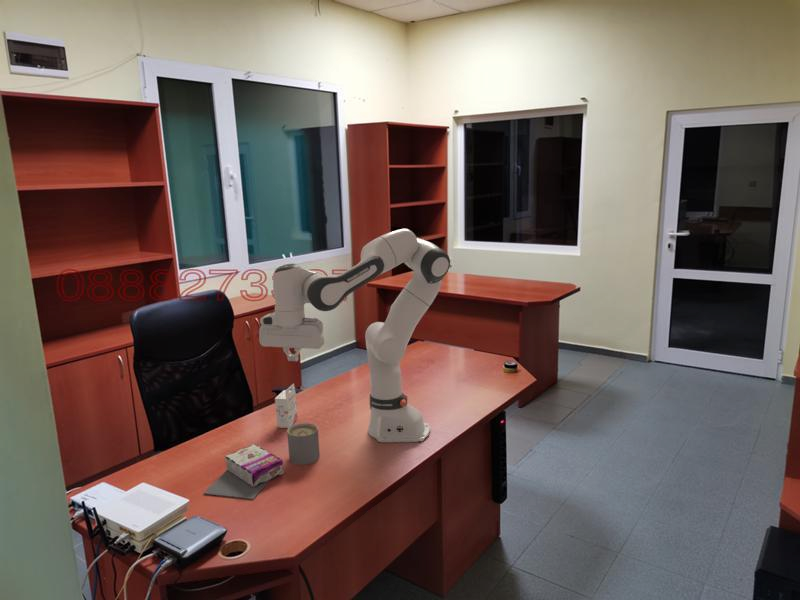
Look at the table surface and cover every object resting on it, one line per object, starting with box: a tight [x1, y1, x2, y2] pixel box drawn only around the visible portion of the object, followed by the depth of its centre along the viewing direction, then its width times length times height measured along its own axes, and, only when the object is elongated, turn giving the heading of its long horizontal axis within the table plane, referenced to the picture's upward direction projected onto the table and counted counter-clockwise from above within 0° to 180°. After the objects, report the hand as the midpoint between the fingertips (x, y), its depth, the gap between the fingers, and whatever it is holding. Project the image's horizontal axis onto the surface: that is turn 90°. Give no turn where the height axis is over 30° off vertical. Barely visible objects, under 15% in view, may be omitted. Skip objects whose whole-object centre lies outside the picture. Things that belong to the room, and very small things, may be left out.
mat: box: [203, 469, 271, 501], centre depth 172 cm, size 16×16×1 cm
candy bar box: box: [224, 443, 285, 487], centre depth 177 cm, size 11×5×16 cm
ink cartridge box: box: [274, 383, 298, 429], centre depth 211 cm, size 9×5×15 cm, turn 168°
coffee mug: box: [286, 422, 320, 466], centre depth 187 cm, size 13×10×10 cm
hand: (293, 360), depth 175 cm, fingers closed
